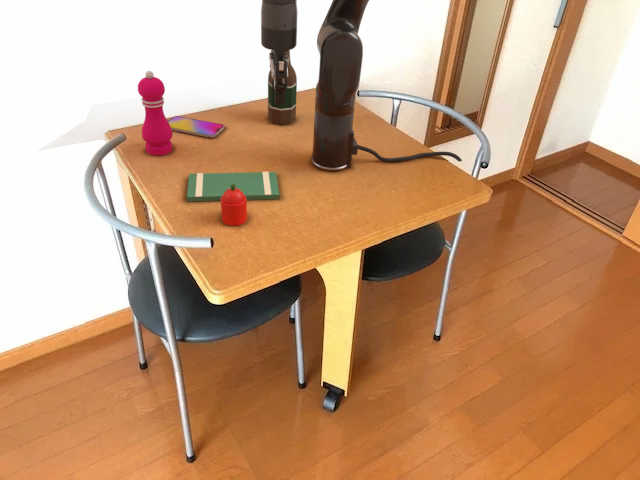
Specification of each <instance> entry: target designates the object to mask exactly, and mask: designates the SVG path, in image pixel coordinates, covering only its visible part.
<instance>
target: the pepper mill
mask: <svg viewBox="0 0 640 480" xmlns="http://www.w3.org/2000/svg"><path fill="white" fill-rule="evenodd" d="M165 88H166V87H165V85H164V82H163V81H162V80H161V79H160V78H158V77H156V76H154V72H153V71H152V70H147V71H146V72H145V77H143V78H141V79H140V81H139V82H138V84H137V92H138V94H139V95H140V97H141V105H142V106H143V107H144V111H145V113H144V115H145V116H144V121H143V125H142V127H141V128H142V129H141V137H142V139H143V141H144V142H145V151H146V153H147V154H149V155H151V156H157V157H158V156H159V157H160V156H165V155H168V154H169V153H171V152H173V144H172V143H173V142H172V141H171V140H172V139H173V130H172V129H171V126H170V124H169V123H168V121H169V120H168V119H167V118H166V115H165V112H164V107H163V106H164V104H165V101H164V99H165V97H164V94H165V92H166V89H165Z"/></svg>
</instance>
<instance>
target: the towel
mask: <svg viewBox="0 0 640 480" xmlns="http://www.w3.org/2000/svg"><path fill="white" fill-rule="evenodd" d="M278 182H279V181H278V176H277V171H255V172H252V171H251V172H250V171H249V172H206V173H205V172H196V173H188V180H187V192H186V201H187V202H188V203H189V202H221V197H222V196H223V194H224V192H225V191H226V190H228V189H229V188H231V184H235V188H237V189H239V190H241V191H242V192H243V194H244V195H245V196H246V200H247V201H254V200H255V201H257V200H259V201H260V200H280V189H279V183H278Z"/></svg>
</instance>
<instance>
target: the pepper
mask: <svg viewBox="0 0 640 480" xmlns="http://www.w3.org/2000/svg"><path fill="white" fill-rule="evenodd" d="M247 201H248V200H246V196H245V195H244V194H243V192H242V191H241V190H239V189H237V188H235V184H231V188H229V189H228V190H226V191H225V192H224V194H223V196H222V197H221V201H220V208H221V210H220V211H221V212H220V213H221V221H222V222H223V224H224V225H227V226H231V227H236V226H242V225H243V224H245V223H246V222H247V220H248V205H247V203H248V202H247Z"/></svg>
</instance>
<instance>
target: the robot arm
mask: <svg viewBox="0 0 640 480" xmlns="http://www.w3.org/2000/svg"><path fill="white" fill-rule="evenodd" d="M297 1H298V0H261V7H260V8H261V9H260V43H261V46H262V47H263V48H265V49H267V50H270V52H269V53H268V60H269V68H270V69H271V72H272V90H274V91H275V105H285V90H287V77H288V63H289V59H288V57H287V53H285V51H287V50H290V51H291V50H294V49H295V48H296V47H297V45H298V44H297V43H298V42H297V41H298V40H297V39H298V6H297V5H298V4H297ZM369 1H370V0H332V2H331V4H330V6H329V8H328V10H327V12H326V15H325V18H324V19H323V21H322V24H321V26H320V28H319V31H318V33H317V35H316V36H317V37H316V48H317V51H318V53H319V70H318V81H317V83H316V86H315V99H314V100H315V101H314V119H313V135H312V153H311V163H312V166H314V167H315V168H316V169H319V170H321V171H326V172H339V171H343V170H345V169H350V168H351V167H352V158H353V156H358V150H359V151H363V152H366V153H368V154H371V155H372V156H374V157H375V158H376V159H378V161H381V162H385V163H397V162H405V161H411V160H415V159H420V158H424V157H425V158H426V157H438V156H439V157H441V156H443V157H444V156H445V157H451V158H453V159H455V160H456V161H457V162H463V160H462V158H461V157H460V156H459V155H458V154H456V153H454V152H451V151H431V152H419V153H416V154H412V155H407V156H399V157H384V156H382V155H380V154H379V153H378V152H377V151H376V150H373V149H371V148H369V147H366V146H363V145H360V144H358V142H357V140H356V137H355V131H354V129H353V128H354V119H355V118H354V117H355V107H356V98H357V97H356V96H357V92H358V90H359V87H360V81H361V74H362V66H363V58H364V46H363V42H362V39H361V37H360V36H359V30H360V27H361V23H362V20H363V17H364V13H365V11H366V8H367V6H368V3H369ZM282 79H283V83H282Z"/></svg>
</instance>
